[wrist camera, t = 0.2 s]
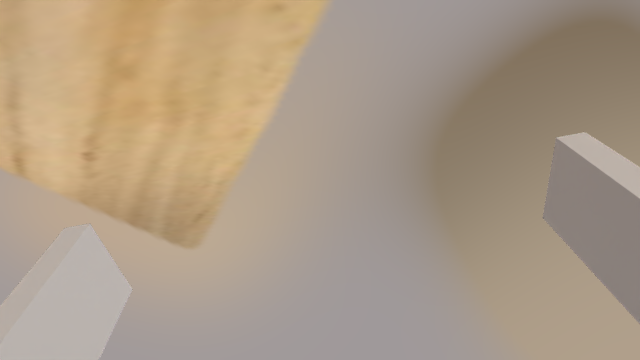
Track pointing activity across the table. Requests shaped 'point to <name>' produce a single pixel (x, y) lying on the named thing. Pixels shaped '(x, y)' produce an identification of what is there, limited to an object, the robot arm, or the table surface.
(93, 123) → the table surface
